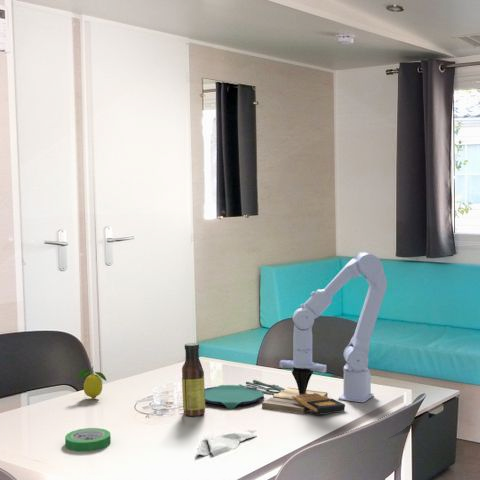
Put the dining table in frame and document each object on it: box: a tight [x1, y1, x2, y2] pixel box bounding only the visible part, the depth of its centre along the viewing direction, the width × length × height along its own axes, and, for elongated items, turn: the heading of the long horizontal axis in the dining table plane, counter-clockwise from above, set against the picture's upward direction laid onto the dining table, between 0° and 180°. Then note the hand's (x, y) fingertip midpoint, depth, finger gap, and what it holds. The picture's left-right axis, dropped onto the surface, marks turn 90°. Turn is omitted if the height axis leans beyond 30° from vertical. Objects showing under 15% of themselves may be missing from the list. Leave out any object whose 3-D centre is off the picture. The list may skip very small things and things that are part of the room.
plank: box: [272, 387, 329, 401], centre depth 233 cm, size 11×13×2 cm
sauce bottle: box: [181, 342, 206, 417], centre depth 219 cm, size 7×6×20 cm
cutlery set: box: [205, 379, 286, 410], centre depth 238 cm, size 20×30×2 cm, turn 136°
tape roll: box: [64, 427, 112, 452], centre depth 194 cm, size 11×11×3 cm
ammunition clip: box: [292, 393, 346, 415], centre depth 223 cm, size 11×2×12 cm
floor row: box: [261, 396, 310, 415], centre depth 224 cm, size 6×13×2 cm, turn 62°
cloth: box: [194, 429, 257, 461], centre depth 194 cm, size 26×14×2 cm, turn 133°
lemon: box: [77, 365, 107, 400], centre depth 234 cm, size 7×6×10 cm
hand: (302, 393), depth 234 cm, fingers closed, pressing on plank
